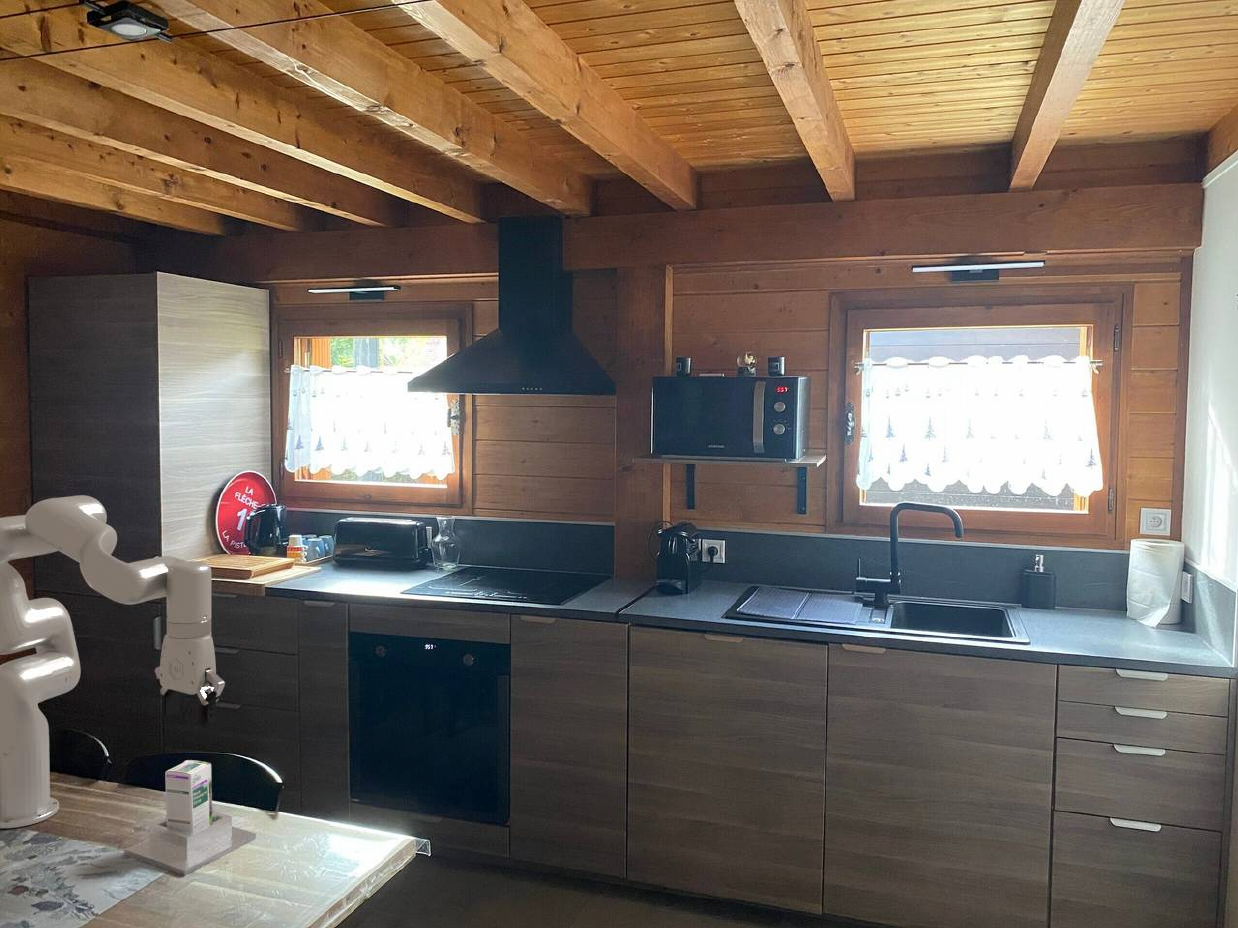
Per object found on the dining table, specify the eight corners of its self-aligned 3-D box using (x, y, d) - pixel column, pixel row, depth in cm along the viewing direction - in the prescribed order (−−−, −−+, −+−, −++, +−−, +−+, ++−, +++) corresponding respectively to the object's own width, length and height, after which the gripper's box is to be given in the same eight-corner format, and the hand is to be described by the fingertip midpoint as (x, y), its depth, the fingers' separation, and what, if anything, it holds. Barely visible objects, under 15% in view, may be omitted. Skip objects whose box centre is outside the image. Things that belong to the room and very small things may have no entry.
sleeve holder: (124, 854, 172) (123, 828, 172) (197, 820, 187) (197, 796, 186) (184, 875, 165) (184, 848, 165) (255, 838, 180) (255, 813, 179)
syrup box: (192, 850, 173) (191, 773, 172) (165, 845, 174) (164, 769, 173) (213, 836, 178) (212, 762, 177) (186, 831, 180) (186, 758, 179)
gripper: (139, 626, 174) (139, 716, 175) (205, 639, 166) (204, 733, 167) (174, 618, 180) (174, 705, 182) (239, 631, 173) (238, 721, 174)
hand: (189, 718), depth 174 cm, fingers open, 9 cm apart
